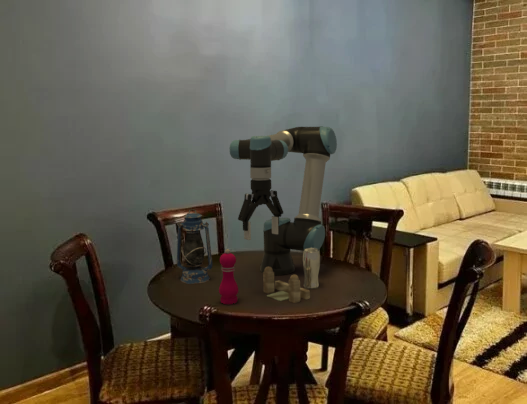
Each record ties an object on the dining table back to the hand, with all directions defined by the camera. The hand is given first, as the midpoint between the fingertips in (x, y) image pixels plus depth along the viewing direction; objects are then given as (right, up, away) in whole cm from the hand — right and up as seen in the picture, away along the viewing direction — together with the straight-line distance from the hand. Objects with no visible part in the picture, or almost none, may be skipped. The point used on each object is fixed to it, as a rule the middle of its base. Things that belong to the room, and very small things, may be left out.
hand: (261, 236), depth 202 cm
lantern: (-28, -20, +30) cm, 46 cm away
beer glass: (+20, -21, +18) cm, 34 cm away
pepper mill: (-12, -24, +2) cm, 27 cm away
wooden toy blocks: (+8, -23, +8) cm, 26 cm away
